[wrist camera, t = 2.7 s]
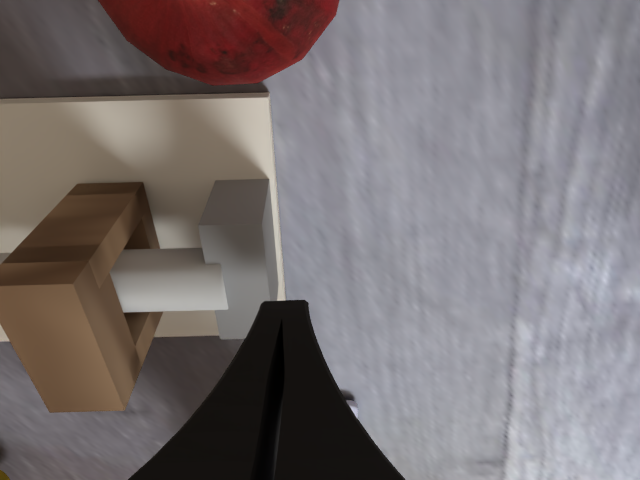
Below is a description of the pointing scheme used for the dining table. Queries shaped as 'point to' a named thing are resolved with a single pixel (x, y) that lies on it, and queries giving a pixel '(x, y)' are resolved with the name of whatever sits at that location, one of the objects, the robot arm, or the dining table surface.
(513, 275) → the dining table surface
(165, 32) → the red pomegranate
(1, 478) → the lemon
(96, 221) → the collar
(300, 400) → the robot arm
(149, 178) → the rail
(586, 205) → the dining table surface
